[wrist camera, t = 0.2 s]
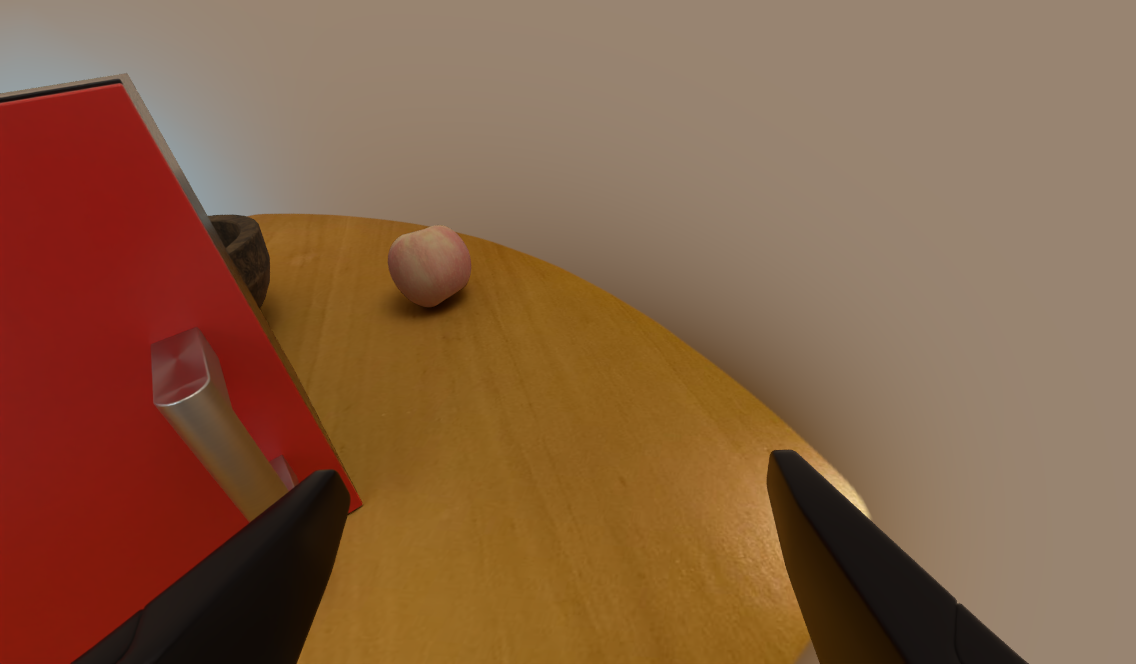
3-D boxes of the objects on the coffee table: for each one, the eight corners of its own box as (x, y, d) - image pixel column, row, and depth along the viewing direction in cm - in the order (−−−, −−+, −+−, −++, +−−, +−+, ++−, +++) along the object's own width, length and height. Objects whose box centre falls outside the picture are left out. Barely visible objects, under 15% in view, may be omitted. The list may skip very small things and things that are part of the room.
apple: (482, 278, 55) (465, 209, 50) (474, 315, 48) (452, 239, 44) (413, 287, 55) (389, 219, 50) (394, 325, 49) (366, 251, 44)
